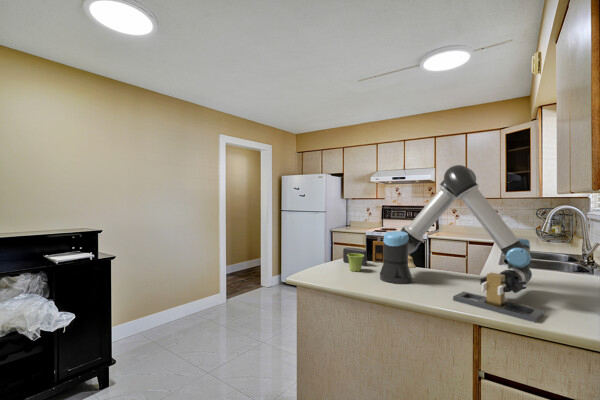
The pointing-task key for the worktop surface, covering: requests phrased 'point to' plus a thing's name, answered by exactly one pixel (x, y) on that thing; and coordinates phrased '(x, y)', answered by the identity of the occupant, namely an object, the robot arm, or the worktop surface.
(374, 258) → the multimeter
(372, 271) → the worktop surface
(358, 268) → the plant pot
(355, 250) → the leaning round-cornered charcoal block
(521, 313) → the grey slotted tray
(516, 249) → the robot arm
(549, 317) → the worktop surface
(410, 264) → the hand bell
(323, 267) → the worktop surface
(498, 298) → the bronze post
